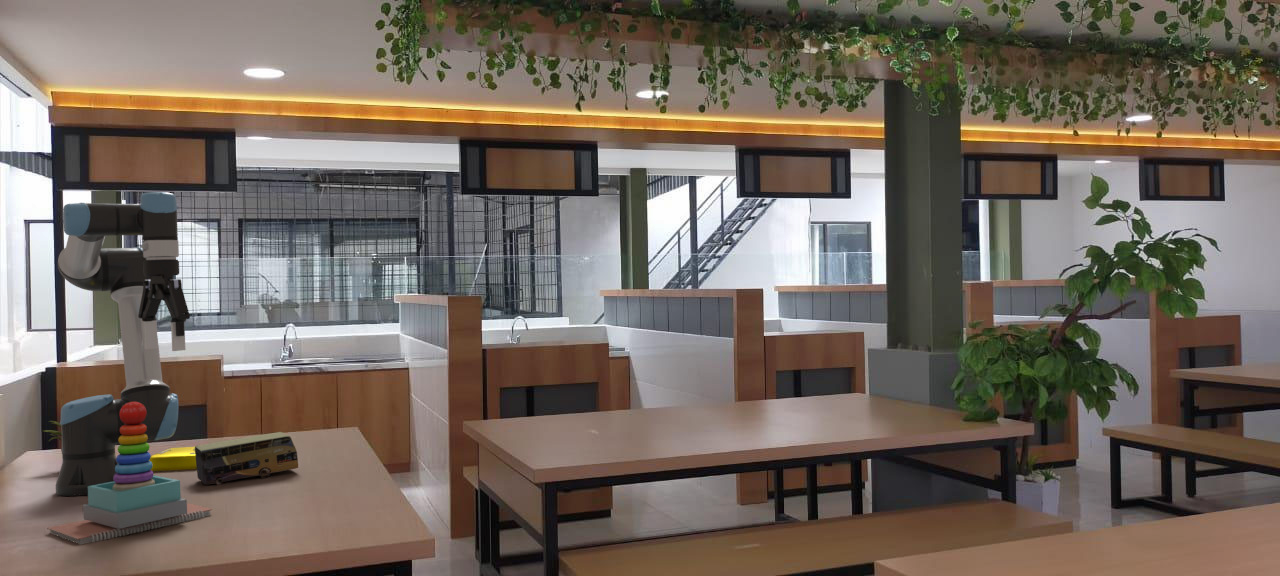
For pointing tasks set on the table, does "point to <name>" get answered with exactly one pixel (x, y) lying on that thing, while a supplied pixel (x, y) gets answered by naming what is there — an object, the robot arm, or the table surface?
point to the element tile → (174, 459)
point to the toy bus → (245, 458)
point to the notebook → (95, 531)
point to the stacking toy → (133, 450)
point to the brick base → (135, 514)
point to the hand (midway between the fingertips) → (164, 349)
